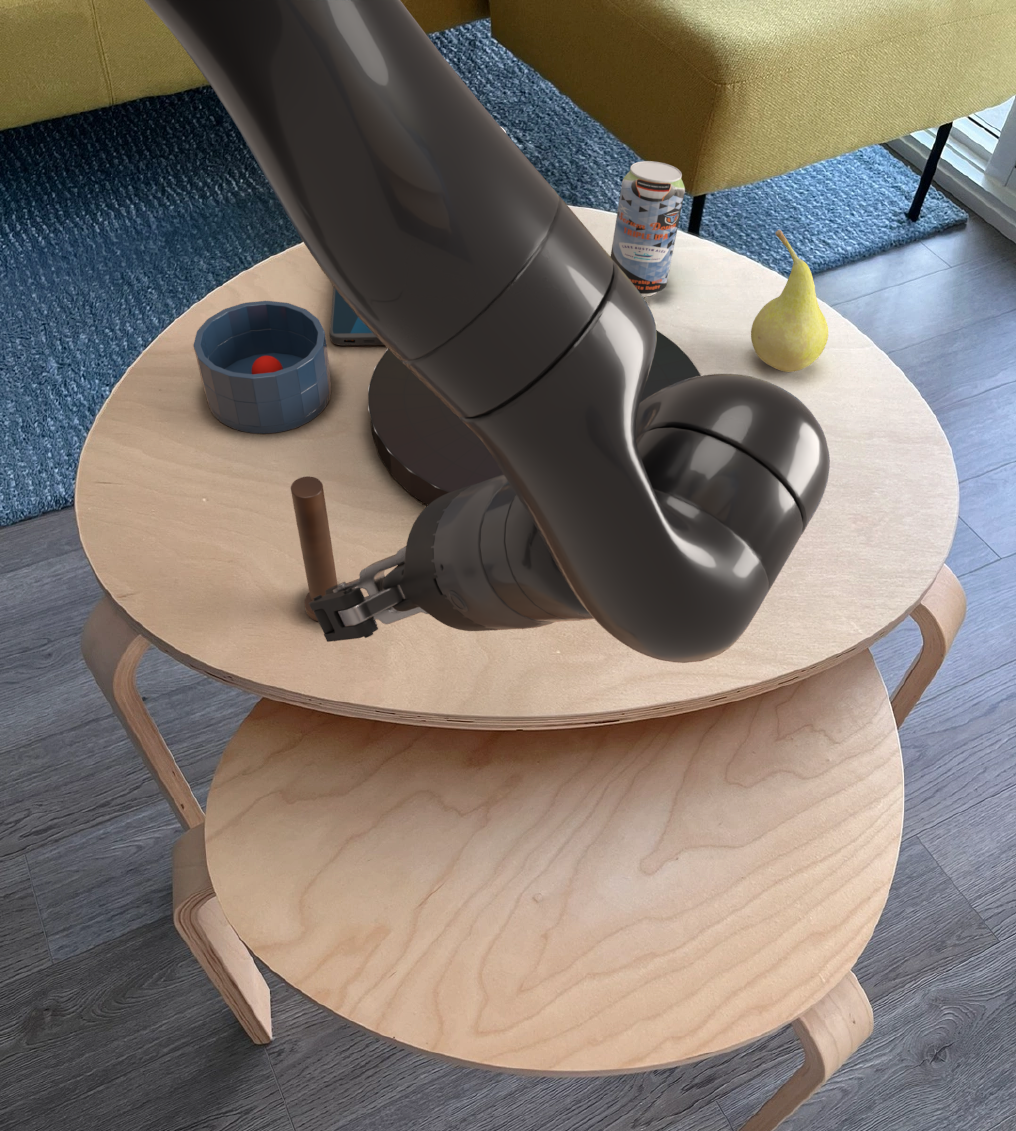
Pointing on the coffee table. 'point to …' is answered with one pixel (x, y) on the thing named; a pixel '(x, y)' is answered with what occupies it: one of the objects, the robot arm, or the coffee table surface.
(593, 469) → the robot arm
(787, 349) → the fruit
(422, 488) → the disc
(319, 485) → the stick
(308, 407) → the bowl
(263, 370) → the red ball
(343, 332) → the smartphone
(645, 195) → the beverage can
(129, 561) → the coffee table surface
